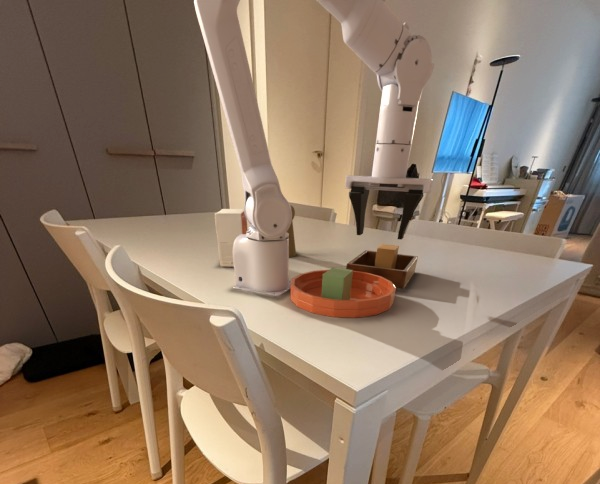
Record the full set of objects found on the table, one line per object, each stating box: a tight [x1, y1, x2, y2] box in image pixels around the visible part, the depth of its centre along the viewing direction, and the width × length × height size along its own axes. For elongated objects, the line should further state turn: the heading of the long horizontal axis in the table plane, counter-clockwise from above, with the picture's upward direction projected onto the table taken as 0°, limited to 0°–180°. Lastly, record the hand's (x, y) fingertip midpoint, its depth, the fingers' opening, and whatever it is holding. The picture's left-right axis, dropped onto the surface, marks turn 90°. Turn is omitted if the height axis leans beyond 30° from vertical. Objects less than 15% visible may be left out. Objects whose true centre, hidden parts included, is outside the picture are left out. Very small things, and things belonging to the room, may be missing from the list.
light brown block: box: [375, 243, 400, 269], centre depth 69 cm, size 4×4×5 cm
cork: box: [287, 204, 297, 258], centre depth 82 cm, size 6×6×11 cm
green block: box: [322, 267, 353, 300], centre depth 54 cm, size 4×4×5 cm
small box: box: [214, 208, 249, 268], centre depth 74 cm, size 8×6×10 cm
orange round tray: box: [290, 268, 397, 319], centre depth 57 cm, size 17×17×3 cm
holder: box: [345, 249, 419, 290], centre depth 68 cm, size 11×13×4 cm
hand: (379, 236), depth 62 cm, fingers open, 7 cm apart
